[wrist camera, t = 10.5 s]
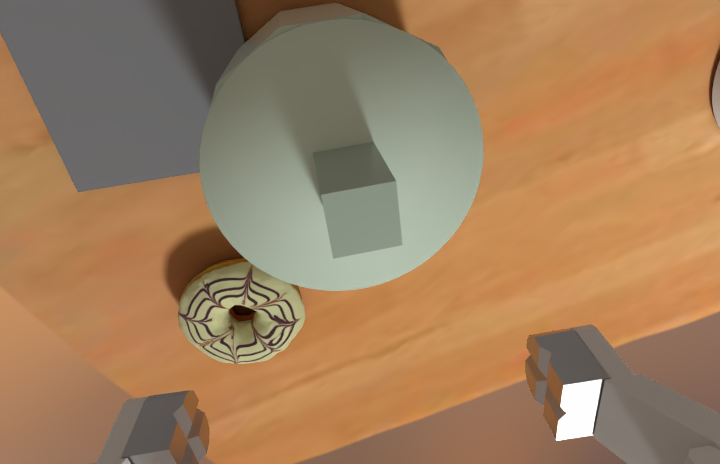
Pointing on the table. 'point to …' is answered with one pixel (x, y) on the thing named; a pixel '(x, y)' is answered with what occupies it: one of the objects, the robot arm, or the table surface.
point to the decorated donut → (239, 332)
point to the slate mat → (122, 80)
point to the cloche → (339, 149)
